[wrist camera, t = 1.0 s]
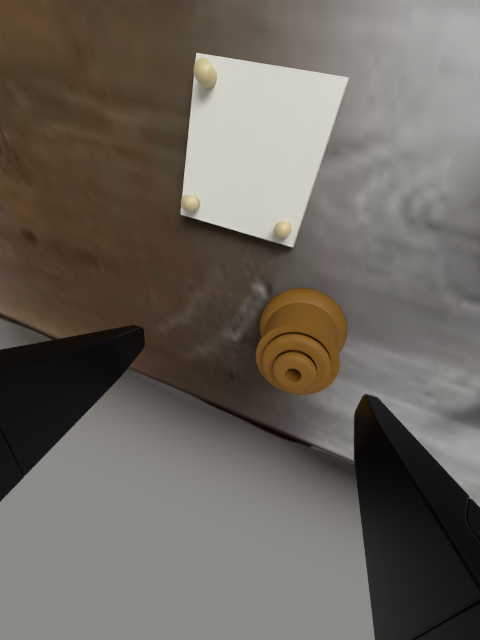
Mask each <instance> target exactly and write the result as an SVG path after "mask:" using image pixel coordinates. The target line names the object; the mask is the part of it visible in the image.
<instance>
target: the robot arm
mask: <svg viewBox="0 0 480 640" xmlns="http://www.w3.org/2000/svg"><path fill="white" fill-rule="evenodd" d="M144 345H145V340H144V329H143V328H142V327H139V326H136V325H131V326H126V327H120V328H115V329H110V330H104V331H99V332H94V333H88V334H83V335H78V336H72V337H67V338H62V339H56V340H51V341H46V342H41V343H37V344H30V345H24V346H19V347H13V348H8V349H2V350H0V501H1V500H2V499H3V498H4V497H5V496H6V495H7V494H8V493H9V492H10V491H11V490H12V489H13V488H14V487H15V486H16V485H17V484H18V483H19V482H20V481H21V480H22V479H23V477H24V476H25V475H26V474H27V473H28V472H29V471H30V470H31V469H32V468H33V467H34V466H35V465H36V464H37V463H38V462H39V461H40V460H41V459H42V458H43V457H44V456H45V455H46V454H47V453H48V451H49V450H50V449H51V448H52V447H53V446H54V445H55V444H56V443H57V442H58V441H59V440H60V439H61V438H62V437H63V436H64V435H65V434H66V433H67V432H68V431H69V430H70V428H72V427H73V426H74V425H75V423H77V421H78V420H79V419H80V418H81V417H82V416H83V415H84V414H85V413H86V412H87V411H88V410H89V409H90V408H91V407H92V406H93V405H94V404H95V403H96V402H97V401H98V400H99V399H100V398H101V397H102V396H103V395H104V393H105V392H107V390H108V389H109V388H110V387H111V386H112V385H113V384H114V383H115V382H116V381H117V380H118V379H119V378H120V377H121V376H122V375H123V373H124V372H125V371H126V370H127V369H128V367H129V366H130V365H131V363H132V362H133V361H134V360H135V358H136V357H137V356H138V355H139V353H140V352H141V351H142V350H143V348H144ZM354 461H355V471H356V479H357V488H358V497H359V504H360V514H361V522H362V530H363V539H364V548H365V557H366V566H367V574H368V583H369V592H370V600H371V609H372V616H373V626H374V635H375V640H480V507H479V506H478V505H477V504H476V503H475V502H474V501H473V500H472V499H469V495H468V494H467V493H466V492H465V491H464V490H463V489H462V488H461V487H460V486H459V485H458V483H457V482H456V481H455V480H454V479H453V478H452V477H451V476H450V475H449V474H448V473H447V472H446V471H445V469H444V468H443V467H442V466H441V465H440V464H439V463H438V462H437V461H436V460H435V459H434V458H433V457H432V455H431V454H430V453H429V452H428V451H427V450H426V449H425V448H424V447H423V446H422V445H421V444H420V443H419V441H418V440H417V439H416V438H415V437H414V436H413V435H412V434H411V433H410V432H409V431H408V430H407V429H406V427H405V426H404V425H403V424H402V423H401V422H400V421H399V420H398V419H397V418H396V417H395V416H394V415H393V414H392V412H391V411H390V410H389V409H388V408H387V407H386V406H385V405H384V404H383V403H382V402H381V401H380V400H379V399H378V398H377V397H374V396H371V395H368V394H365V395H363V397H362V399H361V401H360V403H359V405H358V407H357V409H356V411H355V415H354Z"/></svg>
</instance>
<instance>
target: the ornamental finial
mask: <svg viewBox="0 0 480 640" xmlns="http://www.w3.org/2000/svg"><path fill="white" fill-rule="evenodd" d="M260 335H261V339H260V342H259V344H258V347H257V351H256V362H257V365H258V368H259V370H260V372H261V374H262V375H263V377H264V378H265V379H266V380H267V381H268V382H269V383H270V384H272V385H273V386H274V387H276V388H278V389H280V390H282V391H285V392H288V393H291V394H299V395H306V394H313V393H316V392H319V391H321V390H323V389H325V388H327V387H328V386H329V385H330V384H331V383H332V382H333V381H334V380H335V378H336V376H337V374H338V371H339V366H340V359H339V352H340V351H341V349H342V348H343V346H344V343H345V341H346V337H347V322H346V318H345V315H344V313H343V311H342V309H341V308H340V306H339V305H338V304H337V303H336V302H335V301H334V300H333V299H332V298H331V297H329V296H328V295H326V294H324V293H322V292H320V291H317V290H314V289H308V288H296V289H291V290H288V291H285V292H283V293H281V294H279V295H277V296H276V297H274V298H273V299H272V300H271V301H270V302H269V303H268V304H267V306H266V307H265V309H264V311H263V313H262V316H261V319H260Z"/></svg>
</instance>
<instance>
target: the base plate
mask: <svg viewBox="0 0 480 640" xmlns="http://www.w3.org/2000/svg"><path fill="white" fill-rule="evenodd" d="M348 79H349V78H348V77H342V76H336V75H330V74H324V73H317V72H311V71H305V70H299V69H293V68H286V67H280V66H274V65H268V64H262V63H256V62H249V61H243V60H237V59H231V58H225V57H218V56H212V55H206V54H200V53H196V62H195V65H194V82H193V92H192V102H191V113H190V123H189V133H188V143H187V153H186V163H185V174H184V184H183V194H182V199H181V215H184V216H188V217H191V218H194V219H198V220H201V221H205V222H208V223H211V224H215V225H218V226H221V227H225V228H228V229H232V230H235V231H238V232H242V233H245V234H249V235H252V236H255V237H259V238H262V239H266V240H269V241H272V242H276V243H279V244H283V245H286V246H289V247H293V246H294V244H295V241H296V238H297V235H298V232H299V229H300V226H301V223H302V220H303V217H304V214H305V211H306V208H307V205H308V202H309V199H310V196H311V193H312V190H313V187H314V184H315V181H316V178H317V175H318V172H319V169H320V166H321V163H322V160H323V157H324V154H325V151H326V148H327V145H328V142H329V139H330V136H331V133H332V130H333V127H334V124H335V121H336V118H337V115H338V112H339V109H340V106H341V103H342V100H343V96H344V93H345V90H346V87H347V84H348Z"/></svg>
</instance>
